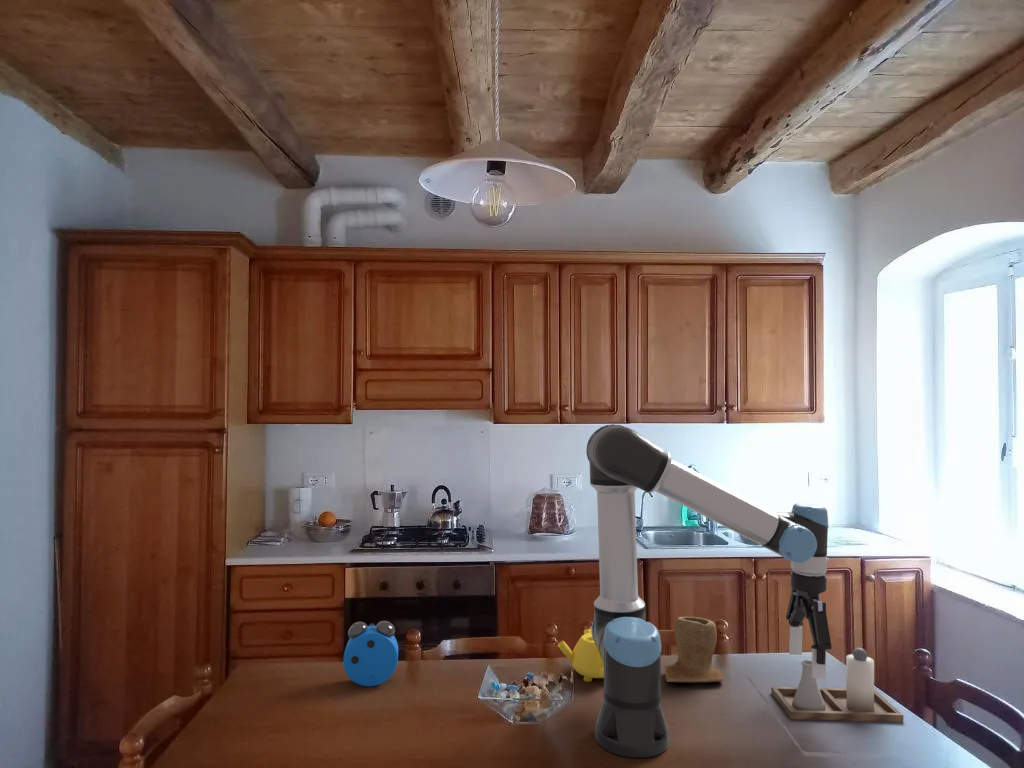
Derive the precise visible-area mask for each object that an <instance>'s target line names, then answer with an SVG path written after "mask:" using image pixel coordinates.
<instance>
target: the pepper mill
mask: <svg viewBox="0 0 1024 768" xmlns="http://www.w3.org/2000/svg"><path fill="white" fill-rule="evenodd" d="M867 652H868V651H866V650H865V649H864V648H862V647H855V648H854V649H853V650H852V653H851V654H847V655H846V657H845V658H846V659H845V660H846V669H845V671H846V673H845V674H846V676H845V677H846V679H845V680H846V681H845V682H846V688H845V689H846V705H847V707H848V708H849V709H851V710H853V711H855V712H874V690H875V661H874V659H873V658H872V657H869V656H868V653H867Z"/></svg>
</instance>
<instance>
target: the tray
mask: <svg viewBox="0 0 1024 768" xmlns="http://www.w3.org/2000/svg"><path fill="white" fill-rule="evenodd" d="M797 689H798V687H797V686H796V687H794V686H771V690H770V691H771V695H772V696H773V698H775V700H776V701H777V702H778V704H779V705H780V706H781V708H782V709H783V711H784V712H785V713H786V715H787V716H788V717H789V718H790V719H791V720H802V721H803V720H806V721H808V720H810V721H840V722H841V721H845V722H876V723H877V722H880V723H904V714H903V713H902V712H901V711H899V710H898V709H897V708H895V706H894V705H893V704H892V703H891V702H889V700H887V699H886V697H885V698H884V697H883V695H882V694H881V693H879V692H878V691H877V690H876V689H874V712H855V711H853V710H851V709H849V708H848V707H847V705H846V688H840V687H839V688H837V687H836V688H834V687H831V688H830V687H819V689H820V692H821V695H822V698H823V700H824V703H825V706H826V707H825V711H810V710H800V709H798V708H797V707H795V706H794V705H793V704H792V702H793V699H794V696H795V694H796V691H797Z"/></svg>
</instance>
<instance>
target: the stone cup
mask: <svg viewBox="0 0 1024 768" xmlns="http://www.w3.org/2000/svg"><path fill="white" fill-rule="evenodd" d="M717 631H718V630H717V625H716V623H715V622H714V621H712V620H711V619H706V618H702V617H698V616H697V617H696V616H679V617H678V618H676V621H675V624H674V637H675V642H676V647H677V660H676V661H675V662H673V663H669V664H664V672H665V673H664V674H665V680H666V683H667V682H668V683H714V682H722V681H724V675H723V673H722V672H721V671H720V670H719V669H718V668H715V666H713V655H714V653H715V650H716V647H717V643H718V641H717V638H718V632H717Z"/></svg>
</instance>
